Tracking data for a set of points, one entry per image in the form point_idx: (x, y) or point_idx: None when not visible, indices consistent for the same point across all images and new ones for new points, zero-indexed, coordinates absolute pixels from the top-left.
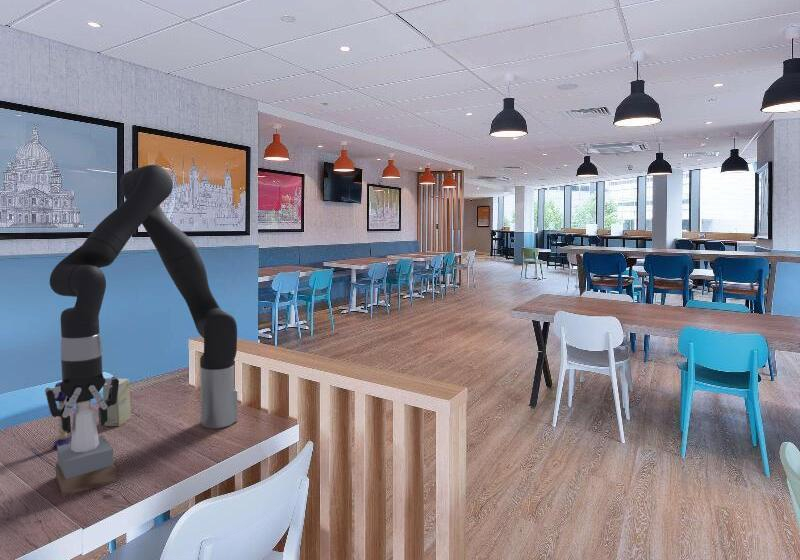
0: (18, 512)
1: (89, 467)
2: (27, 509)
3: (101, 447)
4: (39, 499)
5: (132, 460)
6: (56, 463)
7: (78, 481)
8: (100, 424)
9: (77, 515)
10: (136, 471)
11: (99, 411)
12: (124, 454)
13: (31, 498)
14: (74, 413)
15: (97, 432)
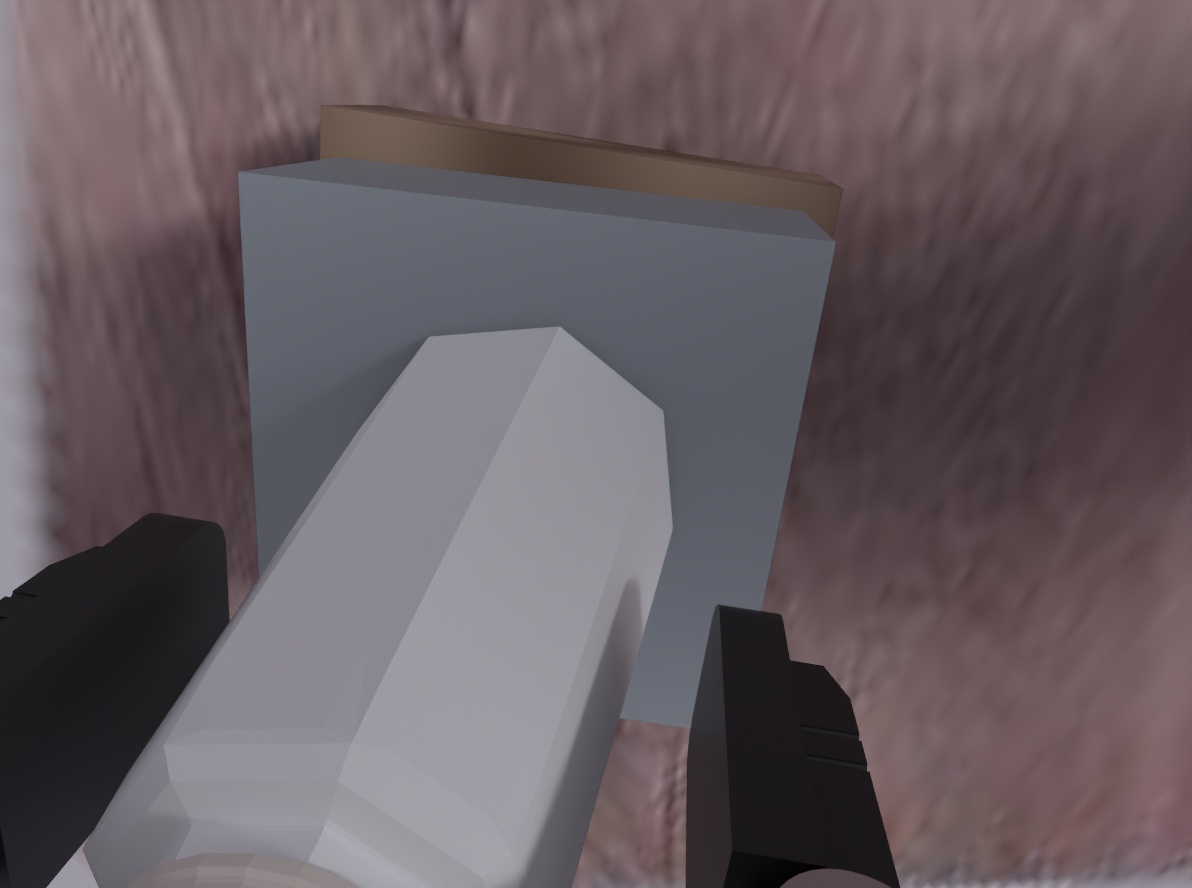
0: (101, 494)
1: None
2: (150, 498)
3: (659, 609)
4: (225, 418)
5: (1024, 295)
6: (326, 140)
7: None
8: (698, 699)
9: None
10: (920, 531)
11: (709, 876)
12: (1058, 77)
13: (179, 359)
14: (96, 874)
15: (644, 624)
